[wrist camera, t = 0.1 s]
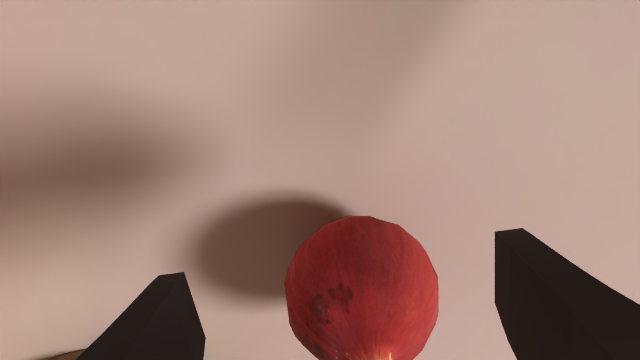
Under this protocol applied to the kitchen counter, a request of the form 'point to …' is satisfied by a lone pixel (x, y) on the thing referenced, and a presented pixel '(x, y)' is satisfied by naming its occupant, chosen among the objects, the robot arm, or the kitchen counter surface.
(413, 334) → the onion
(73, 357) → the base
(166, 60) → the kitchen counter surface
